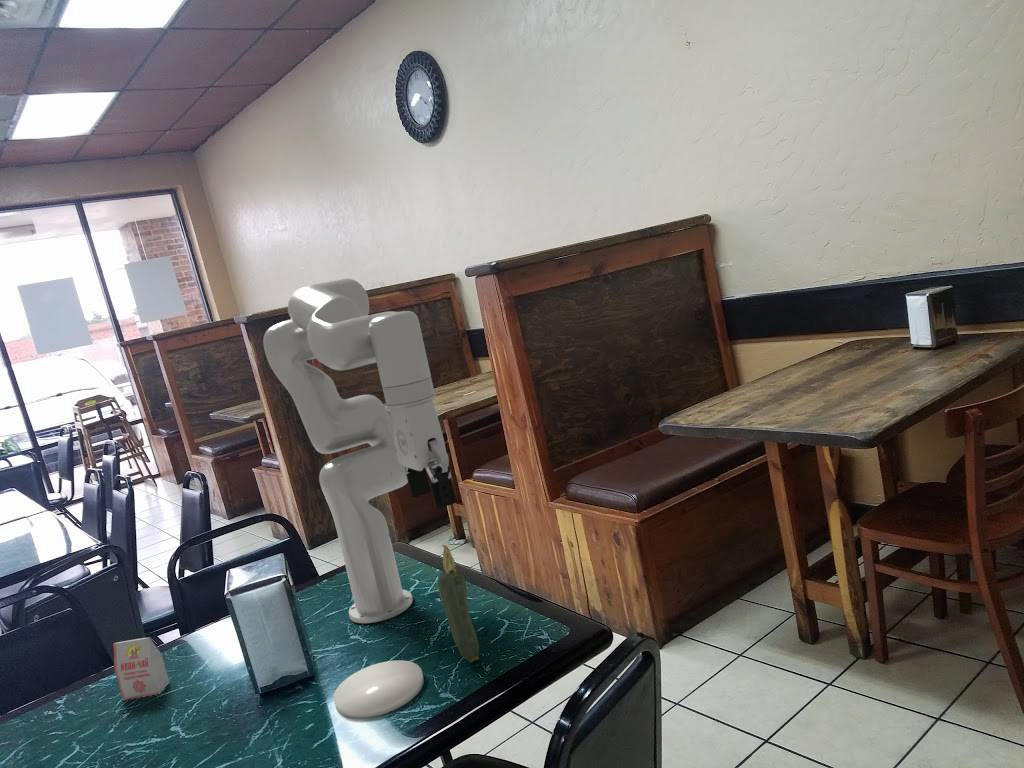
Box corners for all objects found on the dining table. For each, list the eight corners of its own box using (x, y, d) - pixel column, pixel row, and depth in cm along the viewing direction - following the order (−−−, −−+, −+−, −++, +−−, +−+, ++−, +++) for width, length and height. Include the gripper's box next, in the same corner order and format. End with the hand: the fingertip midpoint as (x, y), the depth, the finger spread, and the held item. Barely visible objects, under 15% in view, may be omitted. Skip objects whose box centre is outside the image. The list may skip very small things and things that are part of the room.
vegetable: (479, 670, 123) (452, 551, 120) (453, 672, 124) (426, 554, 121) (485, 655, 127) (460, 540, 124) (460, 657, 128) (434, 543, 125)
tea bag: (134, 689, 141) (119, 638, 139) (169, 683, 140) (154, 632, 139) (123, 700, 137) (107, 648, 136) (159, 694, 137) (144, 642, 135)
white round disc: (324, 692, 126) (323, 686, 125) (404, 657, 132) (403, 651, 132) (350, 730, 113) (349, 722, 113) (437, 689, 120) (436, 682, 120)
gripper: (368, 396, 124) (391, 498, 127) (407, 403, 109) (433, 518, 112) (411, 384, 128) (433, 484, 130) (454, 390, 113) (478, 502, 115)
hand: (433, 500), depth 121 cm, fingers open, 9 cm apart
